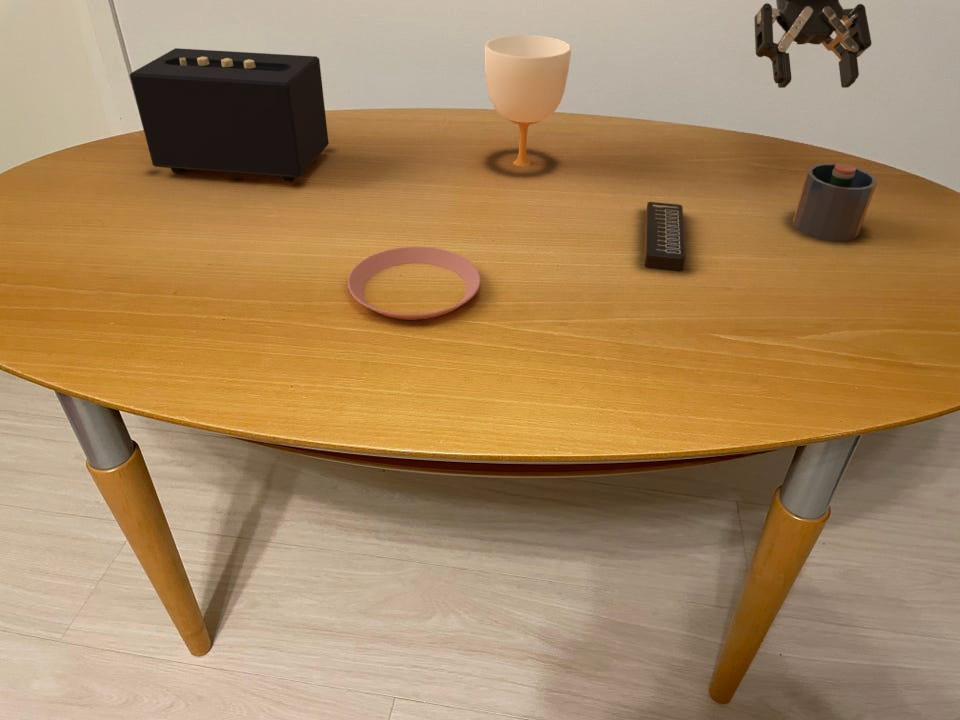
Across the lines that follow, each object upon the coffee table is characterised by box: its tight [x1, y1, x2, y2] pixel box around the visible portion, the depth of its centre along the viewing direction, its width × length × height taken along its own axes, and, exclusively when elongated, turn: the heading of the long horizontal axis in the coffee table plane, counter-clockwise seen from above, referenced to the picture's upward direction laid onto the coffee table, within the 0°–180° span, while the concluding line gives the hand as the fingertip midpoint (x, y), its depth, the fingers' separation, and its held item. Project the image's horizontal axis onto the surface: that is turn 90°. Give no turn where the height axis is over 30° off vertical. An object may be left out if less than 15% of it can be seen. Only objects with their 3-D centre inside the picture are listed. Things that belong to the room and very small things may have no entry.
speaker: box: [129, 47, 330, 183], centre depth 104 cm, size 22×13×15 cm, turn 82°
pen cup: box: [792, 163, 878, 243], centre depth 92 cm, size 8×8×8 cm
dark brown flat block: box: [643, 201, 687, 272], centre depth 90 cm, size 4×14×2 cm, turn 169°
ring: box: [347, 246, 482, 321], centre depth 81 cm, size 14×14×2 cm
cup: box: [484, 34, 572, 168], centre depth 105 cm, size 12×12×17 cm
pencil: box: [829, 163, 857, 188], centre depth 92 cm, size 2×2×8 cm
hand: (817, 84), depth 95 cm, fingers open, 8 cm apart
